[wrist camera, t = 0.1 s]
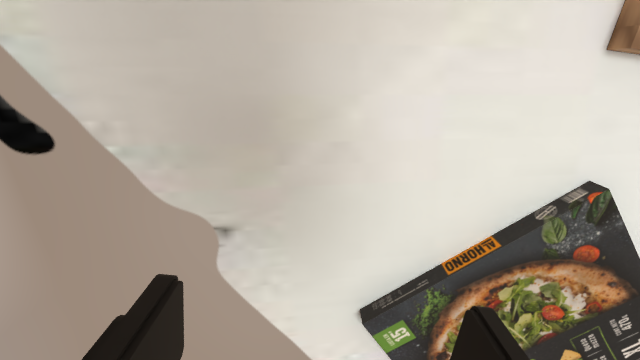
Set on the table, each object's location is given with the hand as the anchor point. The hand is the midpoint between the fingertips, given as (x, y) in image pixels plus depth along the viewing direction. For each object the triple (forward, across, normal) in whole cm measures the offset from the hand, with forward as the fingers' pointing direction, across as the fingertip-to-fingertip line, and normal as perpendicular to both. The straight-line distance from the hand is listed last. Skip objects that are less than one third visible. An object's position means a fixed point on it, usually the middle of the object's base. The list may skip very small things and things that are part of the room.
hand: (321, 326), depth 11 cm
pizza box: (+32, -34, +26) cm, 53 cm away
